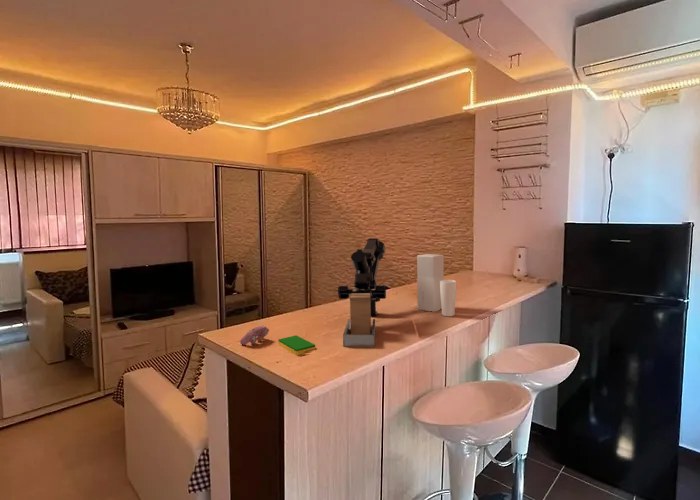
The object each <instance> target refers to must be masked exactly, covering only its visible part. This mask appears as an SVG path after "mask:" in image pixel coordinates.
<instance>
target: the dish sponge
mask: <svg viewBox="0 0 700 500" xmlns="http://www.w3.org/2000/svg"><path fill="white" fill-rule="evenodd" d="M277 343H278V346H280V347H281V348H283V349H285V350H286V351H288V352H290V353H291V354H293V355H295V356H302V355H305V354H309V353H311V350H315V349H316V344H315V343H313V342H311V341H309V340H307V339H305V338H303V337H300V336H298V335H293V336H292V335H291V336H287V337H282V338H278V342H277Z"/></svg>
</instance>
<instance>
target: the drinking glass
mask: <svg viewBox="0 0 700 500" xmlns="http://www.w3.org/2000/svg"><path fill="white" fill-rule="evenodd" d="M440 295H441V306H442V309H441V315H442V316H443V317H454V316H455V315H456V314H455V312H456V309H455V308H456V300H457V280H454V279H444V280H441V281H440Z"/></svg>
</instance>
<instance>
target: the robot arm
mask: <svg viewBox="0 0 700 500" xmlns="http://www.w3.org/2000/svg"><path fill="white" fill-rule="evenodd" d="M384 254H386V245H385V243H384V242H382V241H381V240H380V239H379V238H377V237H372V238H371V237H370V238H367V239H366V244H365V246H364V248H363V249H362V248H361V249H359V248H358V249H356V251H355V252H353V253H352V254H351V255H350V259H351V262H352V265H353V268H354V270H355V274H354V282H353V283H354V284H353V286H354V287H352V289H351V288H349V285H338V287H337V294H338V298H339V299H340V300H348V298H349V299H350V296H351V294H352V293H370V294H371V297H370V303H371V317H375V316H377V314H378V312H377V307H376V305H377V303H378V302H381V299H382V300H383V299H386V298H387V289H386V288H387V287H386V285H384V284H382V285H380V284H379V285H377V282H376V279H377V274H378V268H379V264H380V263H379V262H380V260H382V259H384V256H385V255H384Z"/></svg>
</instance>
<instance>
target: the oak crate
mask: <svg viewBox="0 0 700 500" xmlns="http://www.w3.org/2000/svg"><path fill="white" fill-rule="evenodd" d="M370 297H371V294H370V293H352V294H351V295H349V306H350V307H349V309H350V310H349V313H350V314H349V315H350V322H351V330H350V334H369V335H372V319H371V318H372V316H371V303H370Z"/></svg>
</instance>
